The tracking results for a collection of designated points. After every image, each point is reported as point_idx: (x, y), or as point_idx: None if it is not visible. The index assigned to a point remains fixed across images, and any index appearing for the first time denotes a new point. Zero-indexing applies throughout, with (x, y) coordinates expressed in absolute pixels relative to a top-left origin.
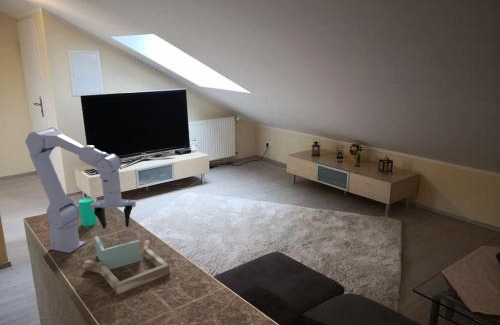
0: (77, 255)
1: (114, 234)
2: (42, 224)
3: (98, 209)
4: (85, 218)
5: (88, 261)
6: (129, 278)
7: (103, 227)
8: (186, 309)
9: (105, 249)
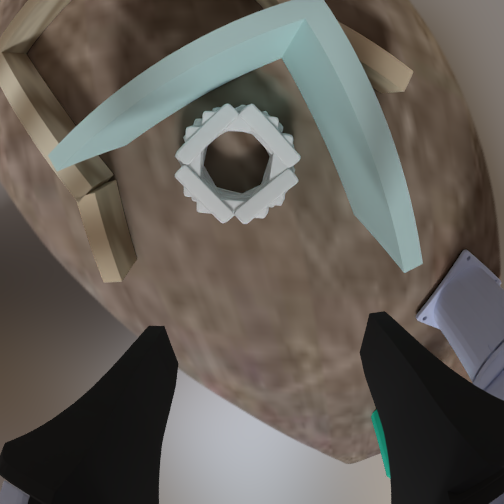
0: (441, 226)
1: (314, 370)
2: None
3: (484, 490)
4: None
5: (395, 70)
6: None
7: (387, 318)
8: None
9: (291, 7)
